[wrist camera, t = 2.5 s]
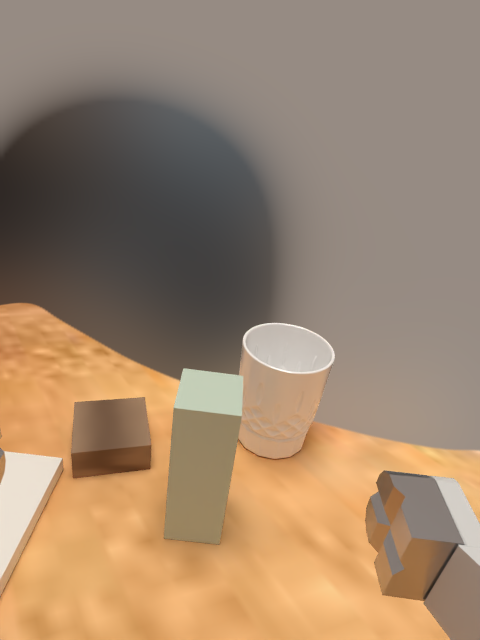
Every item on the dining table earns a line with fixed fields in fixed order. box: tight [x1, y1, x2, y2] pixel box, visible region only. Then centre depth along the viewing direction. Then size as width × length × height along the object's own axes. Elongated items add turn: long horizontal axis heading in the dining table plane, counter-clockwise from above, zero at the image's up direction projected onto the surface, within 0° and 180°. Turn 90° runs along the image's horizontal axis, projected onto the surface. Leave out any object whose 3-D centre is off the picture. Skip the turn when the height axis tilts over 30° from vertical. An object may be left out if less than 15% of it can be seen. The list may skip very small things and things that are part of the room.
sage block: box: [164, 369, 243, 545], centre depth 30 cm, size 4×4×12 cm
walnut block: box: [71, 397, 151, 478], centre depth 37 cm, size 6×6×3 cm
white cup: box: [238, 323, 335, 459], centre depth 40 cm, size 8×8×10 cm
